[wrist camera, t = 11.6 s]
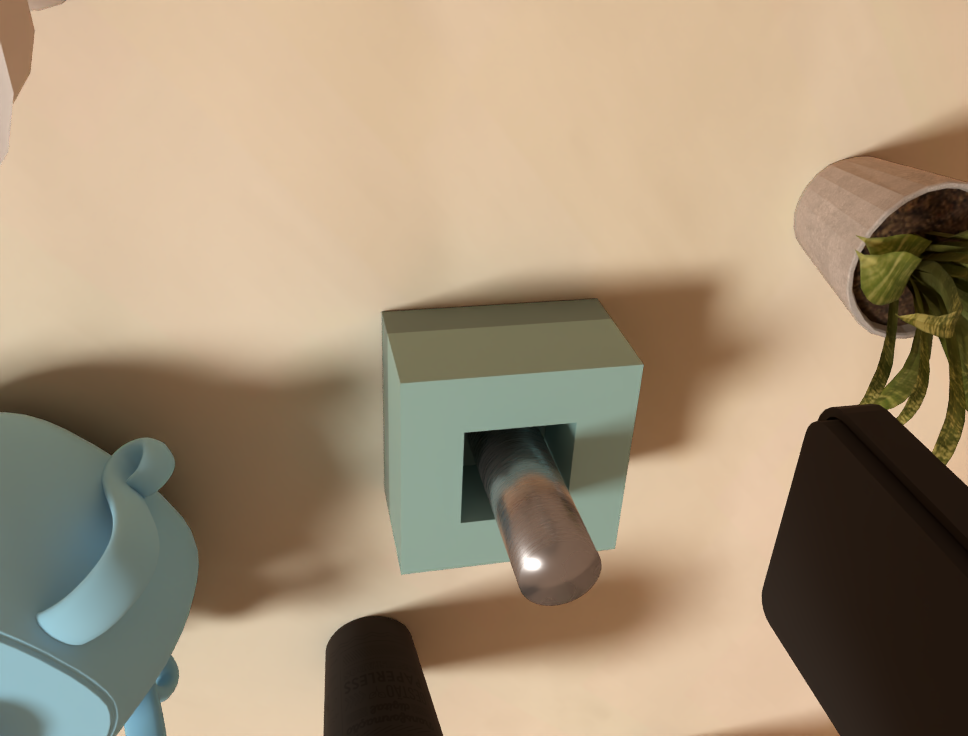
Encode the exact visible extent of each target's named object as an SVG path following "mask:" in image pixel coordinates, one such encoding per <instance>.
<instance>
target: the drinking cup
mask: <svg viewBox="0 0 968 736" xmlns="http://www.w3.org/2000/svg"><path fill="white" fill-rule="evenodd" d="M324 736H443V734H442V731H441V727H440V724H439V721H438V718H437V715H436V712H435V709H434V705H433V702H432V699H431V696H430V693H429V690H428V687H427V683H426V680H425V677H424V674H423V671H422V668H421V665H420V662H419V658H418V655H417V652H416V649H415V646H414V643H413V640H412V636H411V634H410V632H409V630H408V629H407V628H406V627H405V626H404V625H403V624H401V623H400V622H398V621H396V620H394V619H391V618H386V617H366V618H361V619H358V620H355V621H352V622H350V623H348V624H346V625H344V626H343V627H341V628H340V629H339V630H338V631H336V632H335V633H334V635H333V636H332V637H331V639H330V640H329V642H328V644H327V648H326V662H325V701H324Z"/></svg>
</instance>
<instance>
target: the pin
mask: <svg viewBox="0 0 968 736" xmlns="http://www.w3.org/2000/svg"><path fill="white" fill-rule="evenodd" d="M465 434H466V437H467V440H468V443H469V446H470V449H471V452H472V454H473V457H474V460H475V463H476V466H477V469H478V471H479V474H480V477H481V480H482V483H483V486H484V488H485V491H486V494H487V497H488V500H489V503H490V505H491V508H492V511H493V514H494V517H495V520H496V522H497V525H498V528H499V531H500V534H501V537H502V540H503V542H504V545H505V548H506V551H507V554H508V557H509V559H510V562H511V565H512V568H513V571H514V574H515V576H516V579H517V582H518V585H519V588H520V590H521V592H522V594H523V595H524V596H525V597H526V598H527V599H528V600H530V601H531V602H533V603H536V604H540V605H546V606H553V605H560V604H564V603H568V602H570V601H573V600H575V599H577V598H579V597H580V596H582V595H583V594H585V593H586V592H587V591H588V590H589V589H590V588H591V587H592V586H593V585H594V584H595V582H596V581H597V579H598V577H599V575H600V571H601V559H600V556H599V554H598V552H597V550H596V548H595V546H594V544H593V542H592V540H591V537H590V535H589V533H588V531H587V529H586V527H585V525H584V523H583V521H582V518H581V516H580V514H579V512H578V510H577V508H576V506H575V504H574V502H573V499H572V497H571V495H570V493H569V491H568V489H567V487H566V485H565V482H564V480H563V478H562V476H561V474H560V472H559V470H558V468H557V466H556V463H555V461H554V459H553V457H552V455H551V453H550V451H549V449H548V447H547V444H546V442H545V440H544V438H543V436H542V434H541V432H540V430H539V428H538V426H533V427H522V428H511V429H499V430H488V431H477V432H466V433H465Z"/></svg>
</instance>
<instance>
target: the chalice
mask: <svg viewBox="0 0 968 736" xmlns="http://www.w3.org/2000/svg"><path fill="white" fill-rule="evenodd" d="M64 1H65V0H0V166H1V164H2V162H3V160H4V158H5V157H6V155H7V153H8V148H9V137H10V127H11V116H12V106H13V103H14V101H15V100H16V98H17V96H18V94H19V92H20V91H21V89H22V87H23V85H24V83H25V81H26V80H27V78H28V76H29V74H30V70H31V61H32V51H33V42H34V32H35V30H34V26H33V22H32V18H31V13H30V10H36V11H39V10H43V9H46V8H49V7H52V6H55V5H59V4H62V3H63V2H64Z"/></svg>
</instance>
